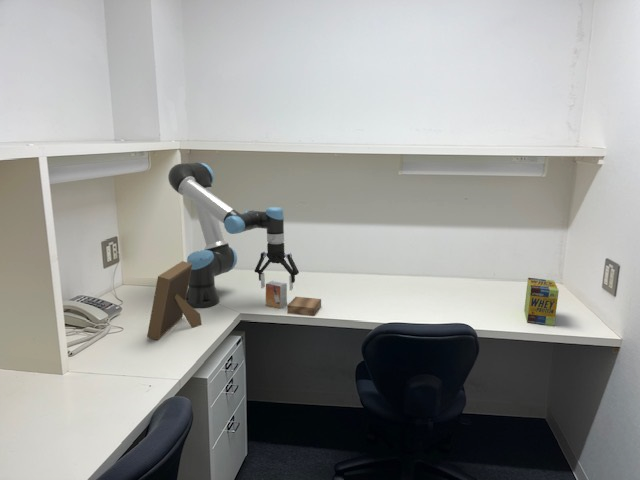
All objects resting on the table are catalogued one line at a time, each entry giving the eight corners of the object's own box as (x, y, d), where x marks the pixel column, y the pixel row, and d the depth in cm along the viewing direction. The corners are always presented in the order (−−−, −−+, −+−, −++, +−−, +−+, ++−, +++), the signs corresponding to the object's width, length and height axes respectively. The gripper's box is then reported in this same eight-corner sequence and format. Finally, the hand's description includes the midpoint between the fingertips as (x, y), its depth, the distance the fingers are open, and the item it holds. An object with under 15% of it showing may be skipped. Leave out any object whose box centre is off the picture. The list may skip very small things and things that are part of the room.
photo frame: (147, 339, 169) (143, 275, 164) (172, 317, 190) (169, 260, 185) (185, 342, 168) (182, 277, 162) (206, 320, 189) (204, 262, 183)
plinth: (287, 314, 197) (287, 305, 196) (295, 304, 208) (295, 296, 207) (314, 316, 194) (314, 308, 193) (321, 307, 205) (321, 299, 204)
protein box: (526, 323, 188) (530, 287, 185) (523, 310, 202) (527, 277, 199) (554, 326, 185) (559, 290, 181) (549, 313, 199) (554, 279, 195)
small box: (265, 305, 205) (265, 283, 203) (272, 301, 210) (272, 280, 208) (280, 308, 202) (280, 286, 200) (287, 304, 207) (287, 282, 204)
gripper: (246, 242, 199) (248, 289, 204) (300, 245, 193) (301, 293, 197) (252, 239, 207) (254, 284, 211) (305, 242, 200) (305, 287, 205)
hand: (277, 288), depth 204 cm, fingers open, 13 cm apart
